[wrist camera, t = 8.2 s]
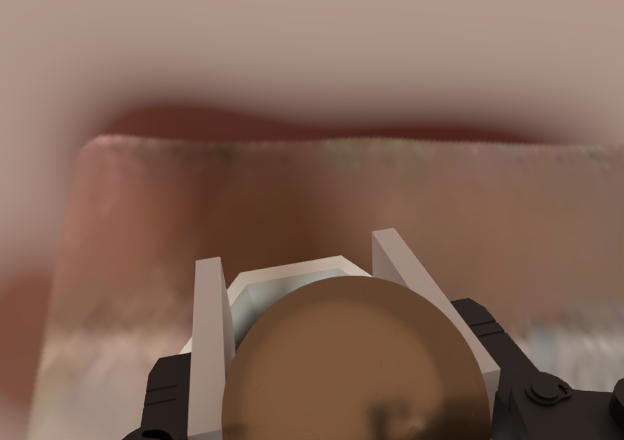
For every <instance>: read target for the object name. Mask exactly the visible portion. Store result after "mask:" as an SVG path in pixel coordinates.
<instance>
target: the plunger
mask: <svg viewBox="0 0 624 440" xmlns="http://www.w3.org/2000/svg"><path fill="white" fill-rule="evenodd" d="M221 423H222V439H223V440H490V438H491V416H490V407H489V399H488V394H487V390H486V385H485V381H484V378H483V376H482V373H481V370H480V367H479V364H478V362H477V360H476V358H475V356H474V354H473V352H472V350H471V348H470V346H469V345H468V343H467V342H466V340H465V338H464V337H463V335H462V334H461V332H460V331H459V330H458V329H457V327H456V326H455V325H454V324H453V323H452V321H451V320H450V319H449V318H448V317H447V316H446V315H445V314H444V313H443V312H442V311H441V310H440V309H439V308H438V307H436V306H435V305H434V304H432V303H431V302H430V301H428V300H427V299H426V298H424V297H423V296H421V295H419V294H417V293H416V292H414V291H412V290H411V289H409V288H406V287H404V286H402V285H399V284H397V283H394V282H391V281H387V280H384V279H380V278H375V277H368V276H351V275H347V276H337V277H330V278H326V279H322V280H318V281H314V282H312V283H309V284H307V285H304V286H302V287H299V288H298V289H296V290H294V291H292V292H290V293H288V294H287V295H285V296H284V297H282V298H281V299H280V300H278V301H277V302H276V303H274V304H273V305H272V306H271V307H270V308H268V309H267V310H266V311H265V312H264V313H263V314H262V315H261V316H260V317H259V318H258V320H257V321H256V322H255V323H254V325H253V326H252V327H251V328H250V329H249V331H248V332H247V334H246V336H245V337H244V339H243V340H242V342H241V344H240V345H239V347H238V350H237V352H236V354H235V356H234V358H233V360H232V363H231V366H230V369H229V372H228V375H227V379H226V383H225V388H224V393H223V399H222V414H221Z"/></svg>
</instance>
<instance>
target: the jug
mask: <svg viewBox="0 0 624 440" xmlns="http://www.w3.org/2000/svg"><path fill="white" fill-rule="evenodd" d="M347 275H351V276H368V277H372V276H371V275H369V274H368V273H366V272H365V271H363V270H362V269H360V268H359V267H357V266H356V265H354V264H353V263H352V262H350V261H349V260H347V259H346V258H344V257H343V256H342V255H340V256H335V257H329V258H323V259H318V260H312V261H306V262H300V263H294V264H288V265H282V266H276V267H271V268H265V269H259V270H253V271H247V272H240V273H239V275H238V276H237V277H236V279H235V280H234V281H233V283H232V284H231V285H230V287H229V288H228V289H227V294H228V299H229V304H230V309H231V314H232V320H233V325H234V339H235V354H236V352H237V350H238V347H239V345H240V344H241V342H242V340H243V339H244V337H245V336H246V334H247V332H248V331H249V329H250V328H251V327H252V326H253V325H254V323H255V322H256V321H257V320H258V318H259V317H260V316H261V315H262V314H263V313H264V312H265V311H266V310H267V309H268V308H270V307H271V306H272V305H273V304H274V303H276V302H277V301H278V300H280V299H281V298H282V297H284V296H285V295H287V294H288V293H290V292H292V291H294V290H296V289H298V288H299V287H302V286H304V285H307V284H309V283H312V282H314V281H318V280H322V279H326V278H330V277H337V276H347ZM191 351H192V337H191V339H190V340H189V341H188V343H187V344H186V345H185V347H184V348H183V349H182V351H181V352H180V353H179V354H184V353H189V352H191Z"/></svg>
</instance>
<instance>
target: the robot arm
mask: <svg viewBox="0 0 624 440" xmlns="http://www.w3.org/2000/svg"><path fill="white" fill-rule="evenodd" d="M372 264H373V277H375V278H380V279H384V280H387V281H391V282H394V283H397V284H399V285H402V286H404V287H406V288H409V289H411V290H412V291H414V292H416V293H417V294H419V295H421V296H423V297H424V298H426V299H427V300H428V301H430V302H431V303H432V304H434V305H435V306H436V307H438V308H439V309H440V310H441V311H442V312H443V313H444V314H445V315H446V316H447V317H448V318H449V319H450V320H451V321H452V323H453V324H454V325H455V326H456V327H457V329H458V330H459V331H460V332H461V334H462V335H463V337H464V338H465V340H466V342H467V343H468V345H469V346H470V348H471V350H472V352H473V354H474V356H475V358H476V360H477V362H478V364H479V367H480V370H481V373H482V376H483V378H484V381H485V385H486V390H487V394H488V399H489V407H490V416H491V438H490V440H491V439H492V440H624V378H623V379H621V380H618V382H617V384H616V385H615V387H614V390H613V393H612V392H596V391H581V390H574V389H572V388H571V387H570V386H569V385H568V384H567V383H566V382H564V381H563V380H561V379H560V378H558V377H556V376H554V375H551V374H548V373H546V372H540V371H539V370H538V369H537V368H536V367H535V366H534V365H533V363H532V362H531V361H530V360H529V359H528V358H527V356H526V355H525V354H524V353H523V352H522V351H521V349H520V348H519V347H518V346H517V345H516V344H515V342H514V341H513V340H512V339H511V338H510V336H509V335H508V334H507V333H505V332H504V329H503V328H502V327H501V326H500V325H499V324H498V323H496V320H495V319H494V318H493V317H492V315H491V314H490V313H489V312H488V311H487V310H486V308H485V307H483V306H481V305H480V304H478V303H476V302H475V301H473V300H471V299H470V298H466V299H461V300H456V301H451V302H449V300H448V299H447V298H446V296H445V295H444V294H443V292H442V291H441V290H440V288H439V287H438V286H437V285H436V283H435V282H434V281H433V279H432V278H431V277H430V275H429V274H428V273H427V271H426V270H425V269H424V267H423V266H422V265H421V263H420V262H419V261H418V259H417V258H416V257H415V255H414V254H413V253H412V251H411V250H410V249H409V248H408V246H407V245H406V244H405V242H404V241H403V240H402V238H401V237H400V236H399V234H398V233H397V232H396V230H395V229H394V228H390V229H384V230H378V231H372ZM234 356H235V339H234V325H233V320H232V314H231V309H230V304H229V299H228V294H227V289H226V284H225V279H224V274H223V269H222V263H221V258H220V257H215V258H209V259H203V260H197V261H196V269H195V290H194V310H193V330H192V351H191V352H189V353H184V354H179V355H174V356H168V357H163V358H159V359H158V361H157V362H156V364H155V365H154V367H153V369H152V370H151V372H150V373H149V376H148V382H147V389H146V395H145V402H144V408H143V414H142V421H141V427H140V428H138V429H136V430H135V431H133V432H131V433H129V434H128V435H127V436H126V437H125V438H124V439H122V440H223V439H222V423H221V414H222V399H223V393H224V388H225V383H226V379H227V375H228V372H229V369H230V366H231V363H232V360H233V358H234Z"/></svg>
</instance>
